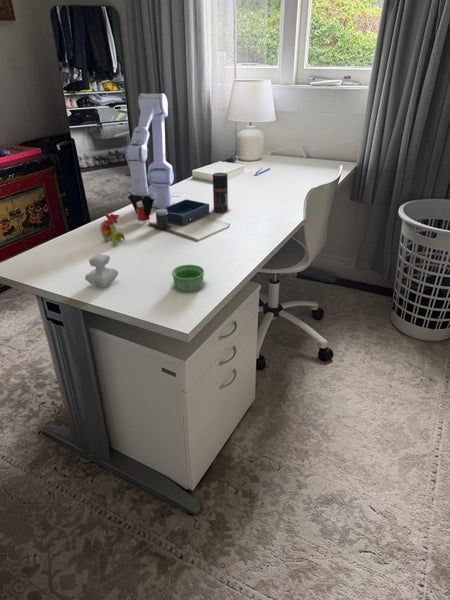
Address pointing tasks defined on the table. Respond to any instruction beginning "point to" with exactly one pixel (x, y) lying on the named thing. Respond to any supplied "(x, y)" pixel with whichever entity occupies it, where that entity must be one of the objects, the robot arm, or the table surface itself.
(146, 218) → the salt shaker
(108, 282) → the stamp
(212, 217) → the table surface
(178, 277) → the ramekin
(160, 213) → the pepper shaker
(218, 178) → the deodorant
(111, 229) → the bird rattle
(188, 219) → the bin
